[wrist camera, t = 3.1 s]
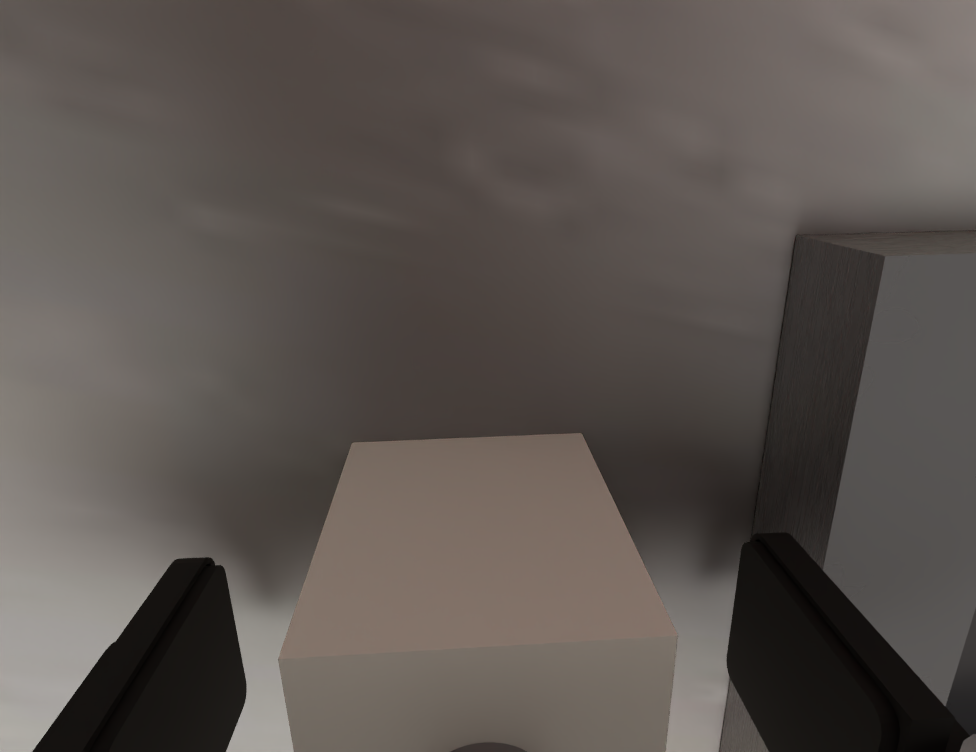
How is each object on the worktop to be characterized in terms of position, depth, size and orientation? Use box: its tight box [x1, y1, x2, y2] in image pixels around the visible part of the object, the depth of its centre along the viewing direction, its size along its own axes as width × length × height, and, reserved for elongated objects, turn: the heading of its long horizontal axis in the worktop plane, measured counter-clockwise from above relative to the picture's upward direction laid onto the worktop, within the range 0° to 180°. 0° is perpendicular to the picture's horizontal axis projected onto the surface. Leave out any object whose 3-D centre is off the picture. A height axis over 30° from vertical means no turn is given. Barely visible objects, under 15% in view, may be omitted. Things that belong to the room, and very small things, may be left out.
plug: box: [278, 433, 678, 752], centre depth 9 cm, size 4×4×8 cm
